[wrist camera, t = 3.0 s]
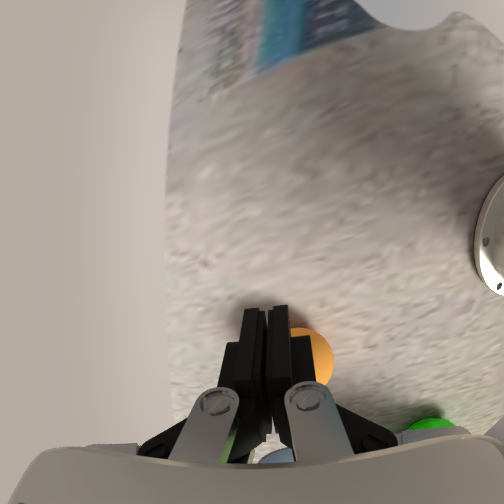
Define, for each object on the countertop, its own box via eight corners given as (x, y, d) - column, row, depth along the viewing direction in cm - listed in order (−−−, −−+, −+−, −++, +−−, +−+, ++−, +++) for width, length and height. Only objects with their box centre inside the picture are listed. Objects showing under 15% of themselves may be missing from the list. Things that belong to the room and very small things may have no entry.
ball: (328, 310, 25) (338, 355, 20) (330, 361, 28) (337, 408, 22) (259, 317, 26) (252, 363, 21) (267, 367, 28) (264, 414, 23)
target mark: (359, 438, 32) (359, 440, 32) (350, 480, 37) (350, 481, 37) (251, 447, 34) (251, 448, 34) (264, 487, 39) (264, 488, 39)
